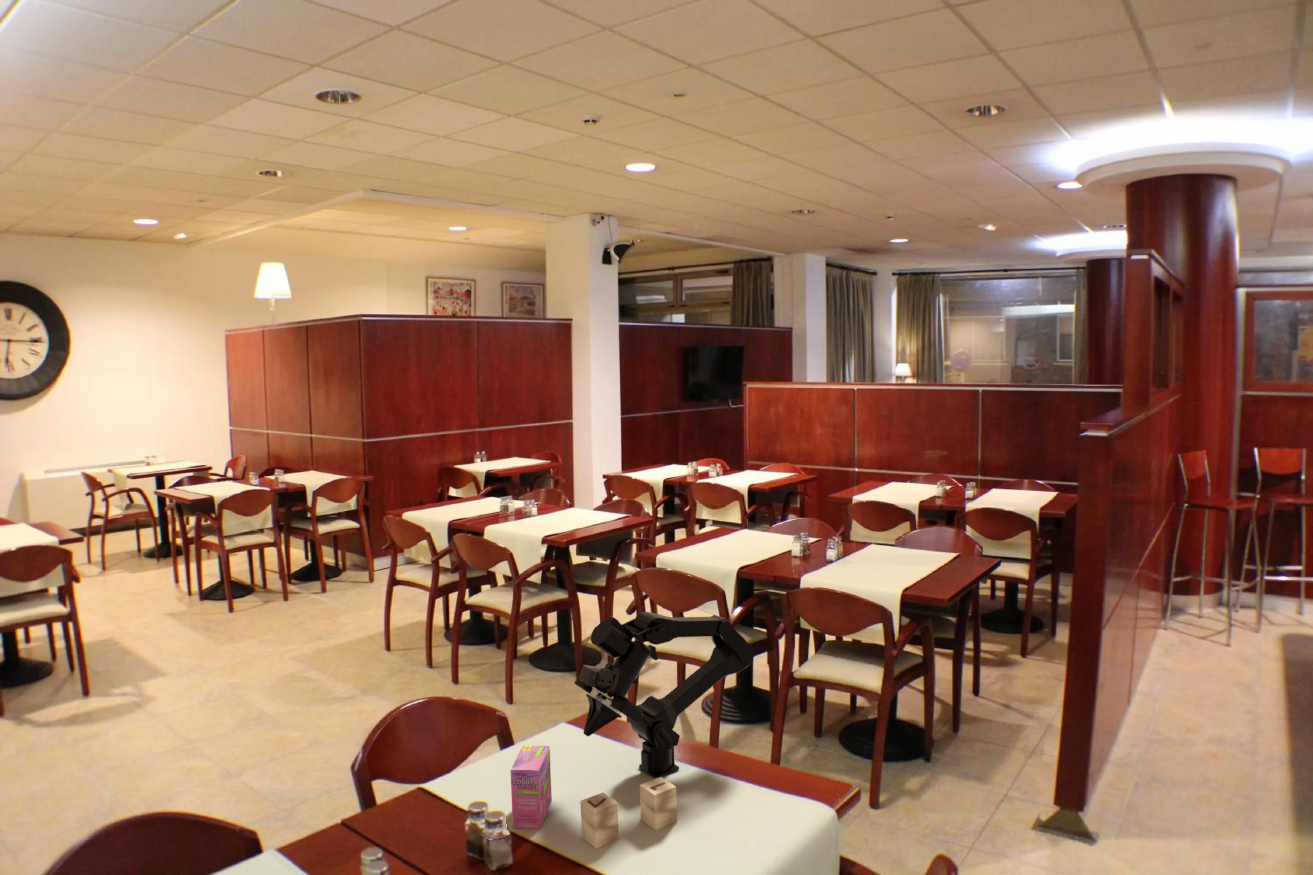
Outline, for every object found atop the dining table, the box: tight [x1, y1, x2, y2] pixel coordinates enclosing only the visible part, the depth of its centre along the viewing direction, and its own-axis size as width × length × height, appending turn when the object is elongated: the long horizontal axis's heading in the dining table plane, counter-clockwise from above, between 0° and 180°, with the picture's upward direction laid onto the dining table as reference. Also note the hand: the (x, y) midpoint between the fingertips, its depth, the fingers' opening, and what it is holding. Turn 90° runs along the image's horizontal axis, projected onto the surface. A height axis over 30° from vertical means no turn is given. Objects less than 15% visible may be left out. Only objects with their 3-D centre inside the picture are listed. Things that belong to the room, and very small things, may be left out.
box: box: [510, 745, 553, 830], centre depth 169 cm, size 10×6×12 cm, turn 175°
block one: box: [639, 776, 678, 831], centre depth 165 cm, size 5×5×7 cm
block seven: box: [579, 792, 620, 849], centre depth 160 cm, size 5×5×7 cm
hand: (585, 734), depth 175 cm, fingers closed
